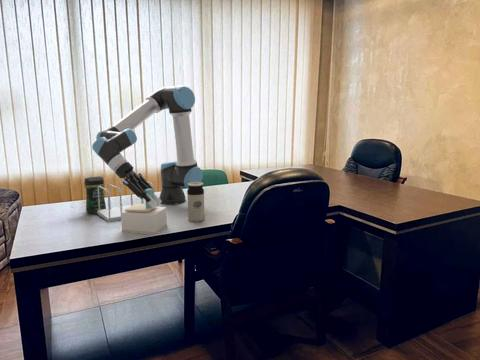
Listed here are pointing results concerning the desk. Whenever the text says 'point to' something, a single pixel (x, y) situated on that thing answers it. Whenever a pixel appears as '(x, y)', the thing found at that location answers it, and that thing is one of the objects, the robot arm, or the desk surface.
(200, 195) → the dark labelled jar
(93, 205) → the coffee jar
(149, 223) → the carton
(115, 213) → the file sorter
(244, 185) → the desk surface
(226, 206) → the desk surface
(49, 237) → the desk surface
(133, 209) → the flap
